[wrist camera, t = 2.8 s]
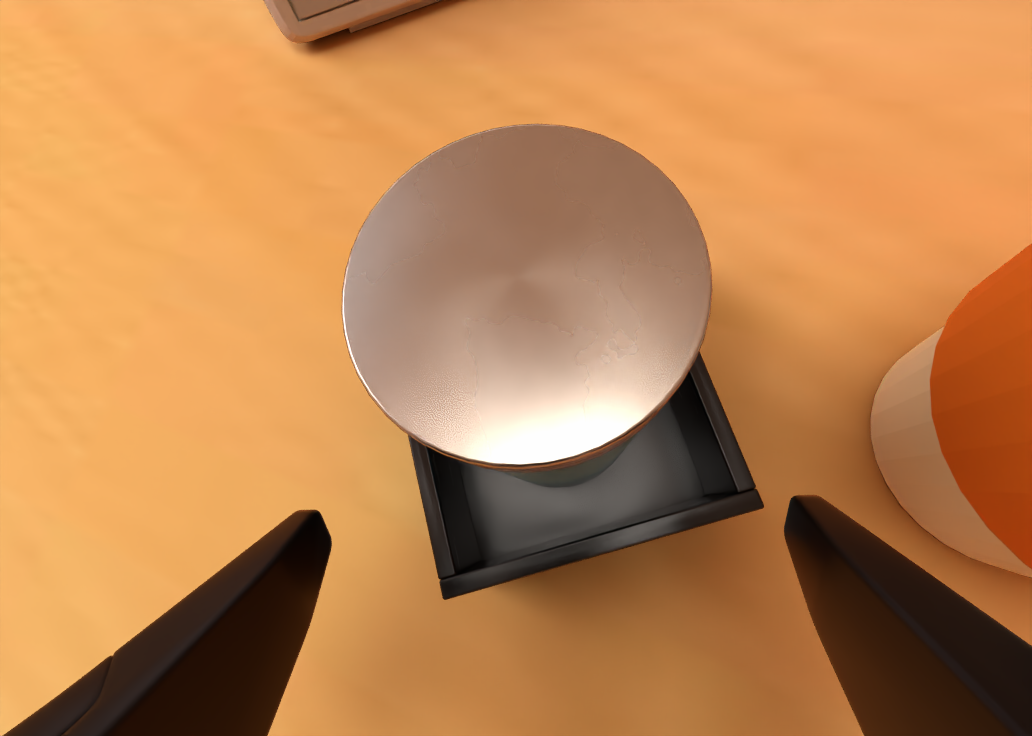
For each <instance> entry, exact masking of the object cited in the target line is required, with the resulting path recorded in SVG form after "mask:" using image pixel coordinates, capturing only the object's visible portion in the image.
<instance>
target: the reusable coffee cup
mask: <svg viewBox="0 0 1032 736" xmlns="http://www.w3.org/2000/svg"><path fill="white" fill-rule="evenodd" d="M871 441H872V445H873V449H874V454H875V458H876V462H877V464H878V466H879V468H880V471H881V473H882V475H883V477H884V480H885V482H886V484H887V486H888V487H889V489H890V490H891V491H892V493H893V494H894V496H895V497H896V499H897V500H898V502H899V503H900V505H901V506H902V507H903V508H904V509H905V510H906V511H907V512H908V513H909V514H910V515H911V517H912V518H913V519H914V520H915V521H916V522H917V523H918V524H919V525H920V526H921V527H922V528H924V529H925V530H926V531H928V532H929V533H930V534H932V535H933V536H934V537H936V538H937V539H938V540H940V541H941V542H942V543H944V544H945V545H947V546H949V547H951V548H953V549H955V550H957V551H958V552H960V553H962V554H964V555H966V556H968V557H970V558H972V559H975V560H978V561H981V562H984V563H987V564H990V565H993V566H996V567H998V568H1002V569H1005V570H1008V571H1011V572H1014V573H1018V574H1021V575H1024V576H1027V577H1030V578H1032V244H1030V245H1029V246H1028V247H1026V248H1025V249H1024V250H1023V251H1021V252H1020V253H1019V254H1017V255H1016V256H1015V257H1013V258H1012V259H1011V260H1009V261H1008V262H1007V263H1006V264H1004V265H1003V266H1002V267H1000V268H999V269H998V270H996V271H995V272H994V273H993V274H991V275H990V276H989V277H987V278H986V279H985V280H983V281H982V282H981V283H980V284H978V285H977V286H976V287H974V288H973V289H972V290H971V291H969V293H968V294H967V295H966V296H965V298H964V299H963V300H962V301H961V303H960V304H959V305H958V306H957V308H956V309H955V310H954V311H953V313H952V314H951V315H950V316H949V318H948V320H947V323H946V325H945V326H943V327H942V328H941V329H939V330H938V331H936V332H935V333H934V334H932V335H931V336H929V337H928V338H927V339H925V340H924V341H922V342H921V343H920V344H918V345H917V346H915V347H914V348H913V349H911V350H910V351H909V352H908V353H906V354H905V355H904V356H902V357H901V358H900V359H899V360H897V361H896V362H895V364H894V365H893V366H892V367H891V369H890V370H889V371H888V372H887V374H886V375H885V376H884V377H883V379H882V382H881V384H880V386H879V388H878V390H877V392H876V394H875V397H874V402H873V407H872V412H871Z"/></svg>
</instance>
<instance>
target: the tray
mask: <svg viewBox="0 0 1032 736" xmlns="http://www.w3.org/2000/svg"><path fill="white" fill-rule="evenodd" d="M408 437H409V442H410V447H411V451H412V456H413V461H414V465H415V470H416V475H417V479H418V484H419V489H420V493H421V498H422V503H423V508H424V512H425V517H426V522H427V526H428V531H429V536H430V540H431V545H432V550H433V554H434V559H435V564H436V568H437V573H438V578H439V579H441V580H440V587H441V592H442V596H443V599H444V600H447V599H450V598H454V597H457V596H461V595H464V594H467V593H471V592H474V591H478V590H481V589H485V588H488V587H492V586H495V585H499V584H502V583H506V582H509V581H513V580H516V579H520V578H523V577H527V576H530V575H533V574H537V573H540V572H544V571H547V570H551V569H554V568H558V567H561V566H565V565H568V564H572V563H575V562H579V561H582V560H586V559H589V558H593V557H596V556H599V555H603V554H606V553H610V552H613V551H617V550H620V549H624V548H627V547H631V546H634V545H638V544H641V543H645V542H648V541H652V540H655V539H659V538H662V537H665V536H669V535H672V534H676V533H679V532H683V531H686V530H690V529H693V528H697V527H700V526H704V525H707V524H711V523H714V522H718V521H721V520H724V519H728V518H731V517H735V516H738V515H742V514H745V513H749V512H752V511H756V510H759V509H763V508H764V504H763V502H762V500H761V497H760V495H759V493H758V490H757V489H755V488H756V485H755V483H754V481H753V478H752V476H751V473H750V471H749V469H748V466H747V464H746V462H745V459H744V457H743V454H742V452H741V450H740V447H739V445H738V442H737V440H736V438H735V435H734V433H733V431H732V428H731V426H730V423H729V421H728V419H727V416H726V414H725V411H724V409H723V407H722V404H721V402H720V400H719V397H718V395H717V392H716V390H715V388H714V385H713V383H712V380H711V378H710V376H709V373H708V371H707V369H706V366H705V364H704V361H703V359H702V357H701V354H700V352H698V355H697V357H696V360H695V362H694V363H693V365H692V367H691V369H690V370H689V372H688V374H687V375H686V377H685V379H684V381H683V382H682V384H681V385H680V386H679V388H678V389H677V390H676V391H675V393H674V394H673V395H672V396H671V398H670V399H669V400H668V401H667V403H666V404H665V405H664V406H663V407H662V409H661V410H660V411H659V412H658V413H657V415H656V416H655V417H654V418H653V419H651V420H650V421H649V422H648V423H647V424H646V425H645V426H644V427H643V428H642V429H641V430H640V431H639V432H638V433H637V435H636V436H635V437H634V438H633V440H632V441H631V442H630V443H629V444H628V446H627V447H626V448H625V449H624V451H623V452H622V453H621V454H620V456H619V457H618V458H617V459H616V461H615V462H614V463H613V464H612V465H611V466H610V467H609V468H608V469H607V470H606V471H604V472H603V473H602V474H600V475H599V476H597V477H596V478H594V479H592V480H590V481H588V482H585V483H582V484H580V485H576V486H571V487H563V488H551V487H544V486H539V485H535V484H532V483H529V482H527V481H524V480H521V479H518V478H516V477H513V476H510V475H507V474H505V473H502V472H499V471H496V470H492V469H487V468H482V467H479V466H476V465H473V464H470V463H467V462H464V461H460V460H458V459H455V458H452V457H449V456H446V455H443V454H441V453H439V452H437V451H435V450H433V449H431V448H429V447H427V446H425V445H423V444H421V443H420V442H418V441H417V440H415V439H414V438H412V437H411V436H410V435H408Z"/></svg>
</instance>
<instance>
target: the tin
mask: <svg viewBox="0 0 1032 736" xmlns="http://www.w3.org/2000/svg"><path fill="white" fill-rule="evenodd" d="M711 300H712V274H711V263H710V259H709V254H708V249H707V245H706V241H705V239H704V236H703V233H702V231H701V228H700V225H699V223H698V220H697V218H696V217H695V215H694V213H693V211H692V209H691V208H690V206H689V204H688V202H687V201H686V199H685V198H684V197H683V195H682V194H681V193H680V191H679V190H678V189H677V187H676V186H675V185H674V183H673V182H672V181H671V180H670V179H669V178H668V177H667V176H666V175H665V174H664V173H663V172H662V171H661V170H660V169H659V168H658V167H656V166H655V165H654V164H653V163H651V162H650V161H649V160H647V159H646V158H645V157H643V156H642V155H641V154H639V153H637V152H636V151H634V150H632V149H631V148H629V147H627V146H625V145H624V144H622V143H620V142H617V141H615V140H613V139H610V138H608V137H606V136H603V135H601V134H597V133H594V132H590V131H587V130H583V129H580V128H574V127H568V126H562V125H549V124H526V125H513V126H507V127H501V128H495V129H491V130H487V131H483V132H480V133H476V134H473V135H470V136H468V137H465V138H463V139H460V140H458V141H455V142H452V143H451V144H449V145H447V146H445V147H443V148H441V149H439V150H437V151H435V152H433V153H432V154H430V155H429V156H427V157H426V158H424V159H423V160H421V161H420V162H418V163H417V164H415V165H414V166H413V167H412V168H411V169H409V170H408V171H407V172H406V173H405V174H403V175H402V176H401V177H400V178H399V179H398V180H397V181H396V182H395V183H394V184H393V185H392V186H391V187H390V188H389V189H388V190H387V191H386V192H385V193H384V195H383V196H382V197H381V199H380V200H379V201H378V202H377V204H376V205H375V206H374V208H373V209H372V210H371V212H370V214H369V215H368V217H367V219H366V220H365V222H364V224H363V226H362V227H361V229H360V231H359V233H358V236H357V238H356V240H355V242H354V245H353V247H352V249H351V253H350V256H349V260H348V263H347V266H346V270H345V276H344V282H343V289H342V320H343V329H344V336H345V340H346V344H347V348H348V351H349V355H350V358H351V361H352V363H353V365H354V368H355V370H356V373H357V375H358V377H359V379H360V381H361V382H362V384H363V386H364V387H365V389H366V391H367V392H368V394H369V396H370V397H371V398H372V400H373V401H374V402H375V403H376V404H377V406H378V407H379V408H380V409H381V411H382V412H383V413H384V414H385V415H386V416H387V417H388V418H389V419H390V420H391V421H392V422H393V423H395V424H396V425H397V426H398V427H399V428H400V429H401V430H402V431H404V432H405V433H407V434H408V435H410V436H411V437H412V438H414V439H415V440H417V441H418V442H420V443H421V444H423V445H425V446H427V447H429V448H431V449H433V450H435V451H437V452H439V453H441V454H443V455H446V456H449V457H452V458H455V459H458V460H460V461H464V462H467V463H470V464H473V465H476V466H479V467H482V468H487V469H492V470H496V471H499V472H502V473H505V474H507V475H510V476H513V477H516V478H518V479H521V480H524V481H527V482H529V483H532V484H535V485H539V486H544V487H551V488H563V487H571V486H576V485H580V484H582V483H585V482H588V481H590V480H592V479H594V478H596V477H597V476H599V475H600V474H602V473H603V472H604V471H606V470H607V469H608V468H609V467H610V466H611V465H612V464H613V463H614V462H615V461H616V459H617V458H618V457H619V456H620V454H621V453H622V452H623V451H624V449H625V448H626V447H627V446H628V444H629V443H630V442H631V441H632V440H633V438H634V437H635V436H636V435H637V433H638V432H639V431H640V430H641V429H642V428H643V427H644V426H645V425H646V424H647V423H648V422H649V421H650V420H651V419H653V418H654V417H655V416H656V415H657V413H658V412H659V411H660V410H661V409H662V407H663V406H664V405H665V404H666V403H667V401H668V400H669V399H670V398H671V396H672V395H673V394H674V393H675V391H676V390H677V389H678V388H679V386H680V385H681V384H682V382H683V381H684V379H685V377H686V375H687V374H688V372H689V370H690V369H691V367H692V365H693V363H694V362H695V360H696V357H697V355H698V352H699V350H700V347H701V345H702V342H703V340H704V337H705V333H706V329H707V325H708V321H709V317H710V311H711Z"/></svg>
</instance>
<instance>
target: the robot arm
mask: <svg viewBox="0 0 1032 736" xmlns="http://www.w3.org/2000/svg"><path fill="white" fill-rule="evenodd" d="M784 536H785V540H786V543H787V546H788V549H789V552H790V555H791V558H792V561H793V564H794V567H795V570H796V573H797V576H798V579H799V582H800V585H801V588H802V591H803V594H804V597H805V600H806V603H807V606H808V609H809V612H810V615H811V618H812V621H813V623H814V626H815V628H816V631H817V633H818V635H819V638H820V640H821V642H822V644H823V646H824V649H825V651H826V653H827V655H828V657H829V660H830V662H831V664H832V666H833V668H834V670H835V673H836V675H837V677H838V679H839V681H840V684H841V686H842V688H843V690H844V692H845V695H846V697H847V699H848V701H849V703H850V705H851V708H852V710H853V712H854V714H855V716H856V719H857V721H858V723H859V725H860V727H861V730H862V732H863V734H864V736H1032V646H1031V645H1030V644H1028V643H1027V642H1025V641H1024V640H1022V639H1021V638H1020V637H1018V636H1017V635H1015V634H1014V633H1013V632H1011V631H1010V630H1008V629H1007V628H1005V627H1004V626H1003V625H1001V624H1000V623H998V622H997V621H996V620H994V619H993V618H991V617H990V616H988V615H987V614H986V613H984V612H983V611H981V610H980V609H979V608H977V607H976V606H974V605H973V604H972V603H970V602H969V601H967V600H966V599H964V598H963V597H962V596H960V595H959V594H957V593H956V592H955V591H953V590H952V589H950V588H949V587H947V586H946V585H945V584H943V583H942V582H940V581H939V580H938V579H936V578H935V577H933V576H932V575H930V574H929V573H928V572H926V571H925V570H923V569H922V568H921V567H919V566H918V565H916V564H915V563H913V562H912V561H911V560H909V559H908V558H906V557H905V556H904V555H902V554H901V553H899V552H898V551H897V550H895V549H894V548H892V547H891V546H889V545H888V544H887V543H885V542H884V541H882V540H881V539H880V538H878V537H877V536H875V535H874V534H872V533H871V532H870V531H868V530H867V529H865V528H864V527H863V526H861V525H860V524H858V523H857V522H855V521H854V520H853V519H851V518H850V517H848V516H847V515H846V514H844V513H843V512H841V511H840V510H838V509H837V508H836V507H834V506H833V505H831V504H830V503H829V502H827V501H826V500H824V499H823V498H821V497H819V496H817V495H797V496H793V497H792V498H791V500H790V503H789V508H788V512H787V517H786V521H785V526H784ZM331 546H332V541H331V536H330V534H329V531H328V529H327V527H326V524H325V522H324V520H323V518H322V515H321V513H320V512H319V511H317V510H299V511H296V512H295V513H293V514H292V515H290V516H289V517H288V518H287V519H285V520H284V521H283V522H281V523H280V524H279V525H278V526H276V527H275V528H274V529H272V530H271V531H270V532H269V533H267V534H266V535H265V536H263V537H262V538H261V539H260V540H258V541H257V542H256V543H254V544H253V545H252V546H251V547H249V548H248V549H247V550H245V551H244V552H243V553H242V554H240V555H239V556H238V557H236V558H235V559H234V560H233V561H231V562H230V563H229V564H227V565H226V566H225V567H224V568H222V569H221V570H220V571H218V572H217V573H216V574H215V575H213V576H212V577H211V578H209V579H208V580H207V581H206V582H204V583H203V584H202V585H200V586H199V587H198V588H197V589H195V590H194V591H193V592H191V593H190V594H189V595H188V596H186V597H185V598H184V599H182V600H181V601H180V602H179V603H177V604H176V605H175V606H173V607H172V608H171V609H170V610H168V611H167V612H166V613H164V614H163V615H162V616H161V617H159V618H158V619H157V620H155V621H154V622H153V623H152V624H150V625H149V626H148V627H146V628H145V629H144V630H143V631H141V632H140V633H139V634H137V635H136V636H135V637H134V638H132V639H131V640H130V641H128V642H127V643H126V644H125V645H123V646H122V647H121V648H119V649H118V650H117V651H116V652H115V653H114V655H113V656H109V657H108V658H106V659H105V660H104V661H103V662H101V663H100V664H99V665H97V666H96V667H95V668H94V669H92V670H91V671H90V672H88V673H87V674H86V675H84V676H83V677H82V678H81V679H79V680H78V681H77V682H75V683H74V684H73V685H71V686H70V687H69V688H67V689H66V690H65V691H63V692H62V693H61V694H59V695H58V696H57V697H55V698H54V699H53V700H51V701H50V702H49V703H47V704H46V705H45V706H43V707H42V708H40V709H39V710H38V711H36V712H35V713H34V714H32V715H31V716H29V717H28V718H27V719H25V720H24V721H22V722H21V723H20V724H18V725H17V726H15V727H14V728H13V729H11V730H10V731H9V732H7V733H6V734H4V735H3V736H267V735H268V733H269V730H270V728H271V725H272V722H273V720H274V717H275V715H276V712H277V709H278V707H279V704H280V702H281V699H282V696H283V694H284V691H285V689H286V686H287V683H288V681H289V678H290V676H291V673H292V671H293V668H294V665H295V663H296V660H297V658H298V655H299V652H300V650H301V647H302V645H303V642H304V639H305V637H306V634H307V631H308V629H309V626H310V623H311V620H312V616H313V613H314V610H315V606H316V602H317V599H318V595H319V591H320V588H321V584H322V581H323V577H324V573H325V570H326V566H327V563H328V559H329V555H330V552H331Z"/></svg>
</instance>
